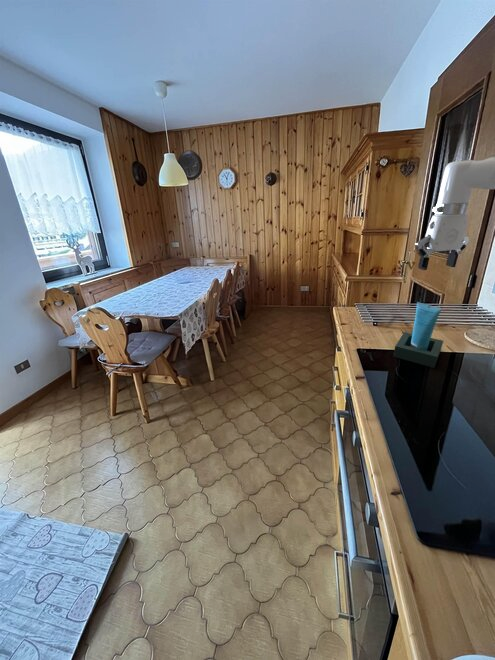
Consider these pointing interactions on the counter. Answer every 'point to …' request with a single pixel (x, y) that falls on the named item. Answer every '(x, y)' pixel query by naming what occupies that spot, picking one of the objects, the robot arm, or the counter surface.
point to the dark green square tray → (418, 351)
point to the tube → (424, 325)
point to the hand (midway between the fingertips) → (436, 267)
